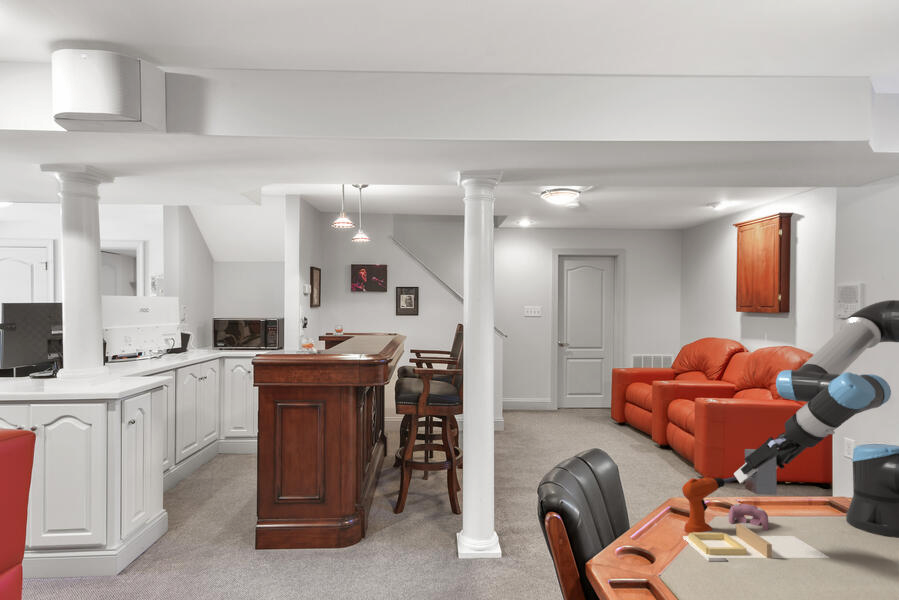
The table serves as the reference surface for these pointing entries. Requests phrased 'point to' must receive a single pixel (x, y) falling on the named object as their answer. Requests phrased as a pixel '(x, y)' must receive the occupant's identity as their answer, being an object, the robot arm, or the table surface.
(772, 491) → the grey metal block
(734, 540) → the plate
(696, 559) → the table surface
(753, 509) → the video game controller
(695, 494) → the toy drill
